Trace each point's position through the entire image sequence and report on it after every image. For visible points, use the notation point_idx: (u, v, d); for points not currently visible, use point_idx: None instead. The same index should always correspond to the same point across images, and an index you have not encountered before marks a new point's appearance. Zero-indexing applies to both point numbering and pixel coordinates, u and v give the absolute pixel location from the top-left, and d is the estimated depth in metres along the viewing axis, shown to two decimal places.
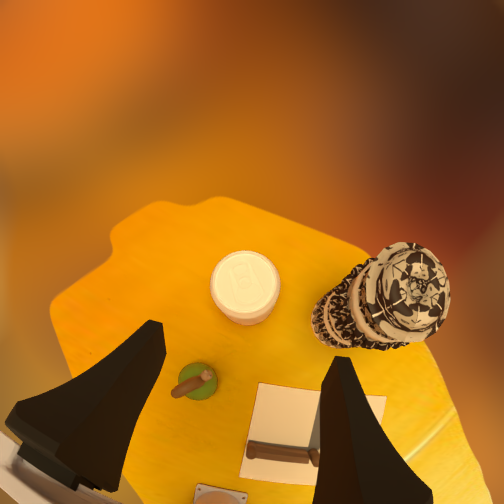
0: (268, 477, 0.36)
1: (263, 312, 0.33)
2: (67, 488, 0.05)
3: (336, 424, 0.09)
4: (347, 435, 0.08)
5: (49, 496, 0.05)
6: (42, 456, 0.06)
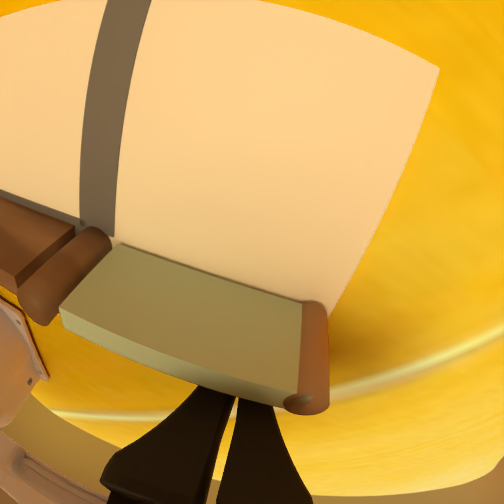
0: None
1: None
2: (67, 488, 0.05)
3: None
4: (236, 421, 0.08)
5: (49, 496, 0.05)
6: None
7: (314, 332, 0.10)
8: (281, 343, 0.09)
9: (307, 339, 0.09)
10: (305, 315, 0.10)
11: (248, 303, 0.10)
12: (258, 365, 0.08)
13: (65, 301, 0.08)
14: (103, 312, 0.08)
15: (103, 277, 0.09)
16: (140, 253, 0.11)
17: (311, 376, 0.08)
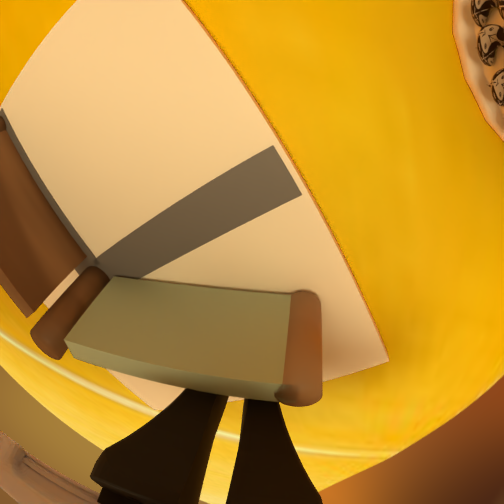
0: None
1: None
2: (67, 488, 0.05)
3: (244, 412, 0.09)
4: (243, 423, 0.08)
5: (49, 496, 0.05)
6: (131, 501, 0.05)
7: (301, 320, 0.10)
8: (267, 337, 0.09)
9: (294, 329, 0.09)
10: (293, 305, 0.10)
11: (234, 305, 0.11)
12: (241, 361, 0.08)
13: (69, 334, 0.09)
14: (100, 337, 0.09)
15: (101, 307, 0.10)
16: (134, 280, 0.12)
17: (297, 365, 0.08)
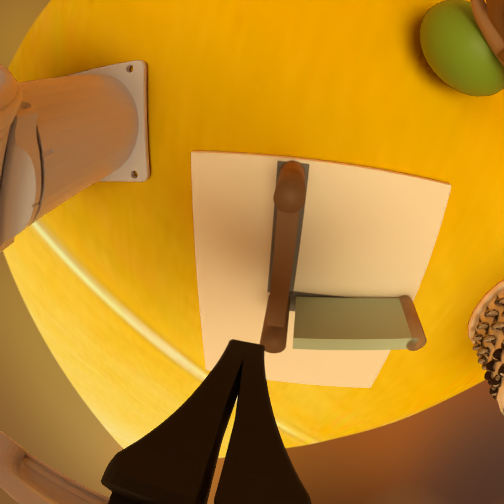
0: (204, 219, 0.19)
1: None
2: (67, 488, 0.05)
3: None
4: None
5: (49, 496, 0.05)
6: None
7: (409, 310, 0.18)
8: (397, 319, 0.18)
9: (408, 314, 0.18)
10: (402, 303, 0.19)
11: (375, 306, 0.19)
12: (392, 331, 0.17)
13: (294, 334, 0.18)
14: (316, 332, 0.18)
15: (303, 316, 0.19)
16: (311, 297, 0.21)
17: (415, 329, 0.17)
